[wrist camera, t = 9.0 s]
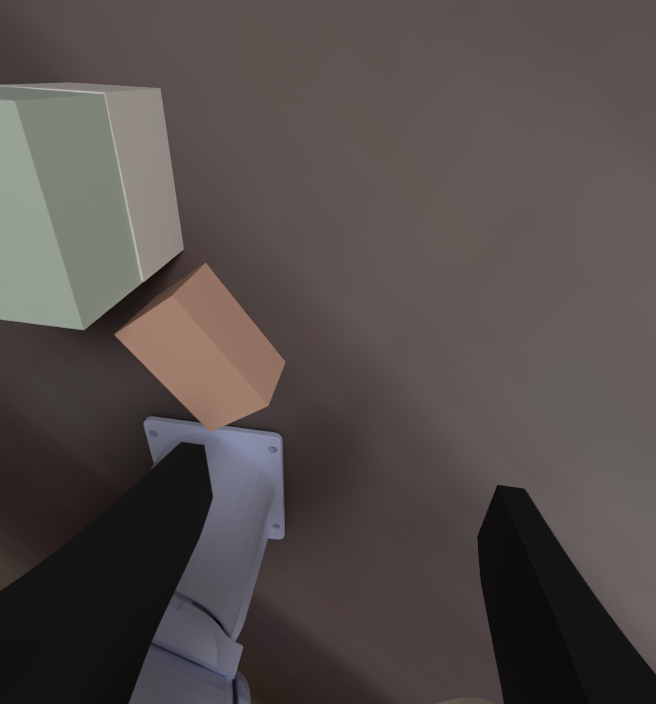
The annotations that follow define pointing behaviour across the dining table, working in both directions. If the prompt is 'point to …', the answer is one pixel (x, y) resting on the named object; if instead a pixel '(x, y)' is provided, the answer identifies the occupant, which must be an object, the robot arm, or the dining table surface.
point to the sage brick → (61, 210)
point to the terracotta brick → (205, 350)
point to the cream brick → (140, 168)
